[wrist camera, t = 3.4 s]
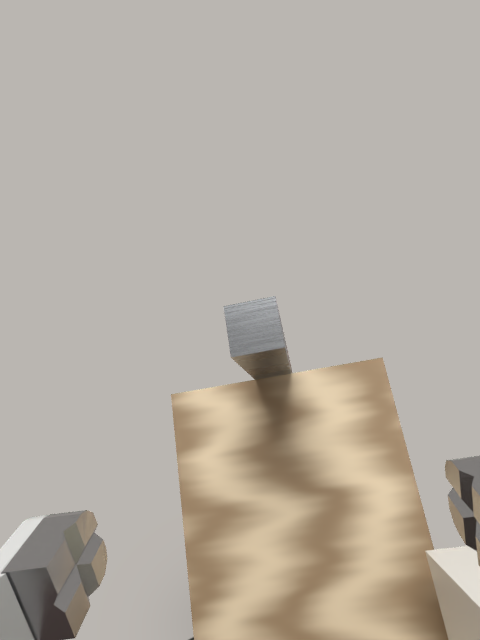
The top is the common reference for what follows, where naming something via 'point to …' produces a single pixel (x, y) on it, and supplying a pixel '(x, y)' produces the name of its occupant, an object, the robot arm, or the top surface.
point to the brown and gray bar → (257, 338)
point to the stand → (303, 510)
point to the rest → (457, 590)
